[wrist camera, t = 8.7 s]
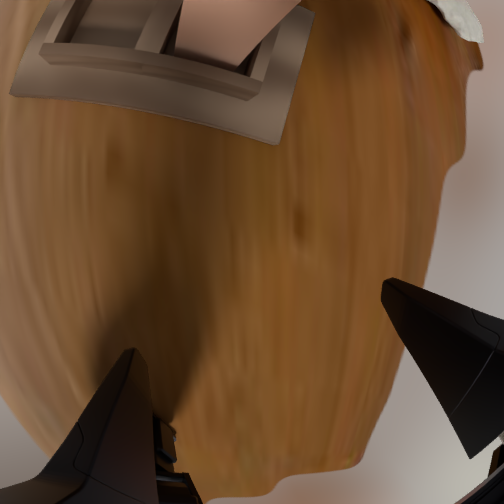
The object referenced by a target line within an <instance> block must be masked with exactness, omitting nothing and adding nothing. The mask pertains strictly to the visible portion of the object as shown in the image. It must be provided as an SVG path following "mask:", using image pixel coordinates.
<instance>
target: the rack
mask: <svg viewBox="0 0 504 504" xmlns="http://www.w3.org/2000/svg"><path fill="white" fill-rule="evenodd" d="M182 5H183V0H51V1H50V3H49V5H48V6H47V8H46V10H45V12H44V13H43V15H42V17H41V19H40V21H39V23H38V25H37V27H36V29H35V31H34V33H33V35H32V37H31V39H30V41H29V43H28V46H27V48H26V50H25V52H24V55H23V57H22V60H21V62H20V64H19V67H18V70H17V72H16V75H15V78H14V80H13V83H12V86H11V89H10V92H9V94H10V95H13V96H15V97H31V98H47V99H59V100H69V101H78V102H87V103H94V104H102V105H108V106H115V107H121V108H127V109H133V110H138V111H143V112H149V113H154V114H158V115H163V116H168V117H172V118H177V119H181V120H185V121H190V122H194V123H198V124H202V125H206V126H209V127H213V128H217V129H221V130H224V131H228V132H231V133H235V134H238V135H242V136H245V137H248V138H252V139H255V140H258V141H261V142H264V143H267V144H271V145H278V144H279V143H280V139H281V135H282V132H283V128H284V125H285V121H286V117H287V114H288V110H289V106H290V103H291V99H292V96H293V92H294V88H295V85H296V81H297V78H298V74H299V70H300V67H301V63H302V60H303V56H304V52H305V49H306V45H307V42H308V38H309V34H310V31H311V27H312V24H313V20H314V16H315V13H314V12H312V11H310V10H308V9H306V8H304V7H302V6H299V5H296V6H295V7H294V8H293V9H292V10H291V11H290V12H289V13H288V14H287V15H286V16H285V17H284V18H283V19H282V20H281V21H280V22H279V23H278V24H277V25H276V26H275V27H274V28H273V29H272V30H271V31H270V32H269V33H268V34H267V35H266V36H265V37H264V38H263V39H262V40H261V41H260V42H259V43H258V44H257V45H256V47H255V48H254V49H253V50H252V51H251V52H250V53H249V54H248V55H247V57H246V58H245V59H244V60H243V61H242V62H241V63H240V65H239V66H238V67H237V68H236V69H235V70H234V72H232V71H228V70H225V69H222V68H218V67H215V66H211V65H207V64H204V63H200V62H196V61H192V60H187V59H183V58H179V57H174V51H175V44H176V38H177V32H178V26H179V20H180V15H181V10H182Z"/></svg>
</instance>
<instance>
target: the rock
mask: <svg viewBox="0 0 504 504" xmlns="http://www.w3.org/2000/svg"><path fill="white" fill-rule="evenodd" d="M428 1H430V2H431V3H433V4H434V5H435V6H436V7H437V8H438V9H439V10H440V12H441V13H442V16H443V18H444V19H445V20H446V21H447V22H448V23H449V25H450V26H451V27H452V28H453V29H454V30H455V32H456V33H457V34H458V35H459V36H460V37H461V38H463V39H466V40H467V41H475V42H478V43H480V42H482V43H483V42H484V41H483V33H482V27H481V25H480V23H479V21H478V19H477V17H476V16H475V14H474V13H473V11H472V9H471V8H470V6H469V5H468V3H467V1H466V0H428Z"/></svg>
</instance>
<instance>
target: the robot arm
mask: <svg viewBox="0 0 504 504" xmlns="http://www.w3.org/2000/svg"><path fill="white" fill-rule="evenodd" d="M381 302H382V305H383V306H384V308H385V310H386V312H387V314H388V316H389V318H390V320H391V322H392V324H393V326H394V328H395V330H396V331H397V333H398V335H399V337H400V338H401V340H402V341H403V343H404V345H405V346H406V348H407V349H408V351H409V352H410V354H411V355H412V357H413V359H414V360H415V362H416V363H417V365H418V367H419V368H420V370H421V372H422V373H423V375H424V377H425V378H426V380H427V382H428V383H429V385H430V387H431V388H432V390H433V392H434V394H435V395H436V397H437V399H438V401H439V402H440V404H441V406H442V408H443V409H444V411H445V413H446V414H447V417H448V418H449V421H450V422H451V424H452V426H453V428H454V430H455V432H456V434H457V435H458V437H459V439H460V441H461V443H462V445H463V447H464V449H465V451H466V453H467V455H468V457H469V459H472V458H473V457H474V456H475V455H477V454H478V453H479V452H481V451H482V450H483V449H484V448H485V447H486V446H487V445H489V444H490V443H491V442H492V441H494V439H496V438H497V437H499V438H500V439H501V441H502V444H501V445H500V446H499V447H498V448H497V449H496V450H494V452H493V455H492V460H491V465H490V469H489V474H488V478H487V479H485V480H484V481H483V482H482V483H481V484H479V485H478V486H477V487H476V488H474V489H473V490H472V491H471V492H469V493H468V494H467V495H466V496H464V497H463V498H462V499H460V500H459V501H458V502H456V503H455V504H504V320H502V319H500V318H497V317H494V316H491V315H488V314H485V313H483V312H480V311H478V310H475V309H473V308H471V309H470V307H468V306H465V305H462V304H460V303H458V302H455V301H453V300H450V299H448V298H445V297H443V296H440V295H438V294H435V293H432V292H430V291H428V290H425V289H422V288H420V287H417V286H415V285H412V284H410V283H407V282H404V281H402V280H399V279H396V278H393V277H392V278H389V279H386V280H384V281H383V284H382V292H381ZM175 441H176V436H175V435H174V434H173V433H172V430H171V429H170V428H169V427H168V426H167V425H166V424H165V423H164V422H163V421H162V420H161V419H160V418H157V417H156V416H155V415H154V413H153V412H152V402H151V394H150V386H149V378H148V369H147V364H146V362H145V360H144V359H143V357H142V356H141V354H140V353H139V351H138V350H137V349H136V348H129V349H125V350H124V351H123V353H122V354H121V356H120V357H119V358H118V360H117V361H116V363H115V364H114V366H113V367H112V369H111V370H110V372H109V373H108V375H107V376H106V378H105V379H104V381H103V382H102V383H101V385H100V386H99V388H98V390H97V391H96V393H95V394H94V396H93V397H92V399H91V400H90V402H89V403H88V405H87V406H86V408H85V409H84V411H83V413H82V414H81V416H80V417H79V419H78V422H76V423H75V425H74V427H73V428H72V430H71V431H70V433H69V434H68V436H67V437H66V439H65V440H64V442H63V443H62V444H61V446H60V447H59V449H58V450H57V451H56V453H55V454H54V455H53V457H52V458H51V459H50V461H49V462H48V463H47V465H46V466H45V467H44V469H43V470H42V471H41V472H40V473H39V475H37V476H36V477H34V478H32V479H30V480H28V481H25V482H22V483H19V484H15V485H12V486H9V487H6V488H2V489H0V504H203V503H202V500H201V498H200V496H199V494H198V492H197V490H196V488H195V486H194V484H193V482H192V480H191V477H190V475H189V473H183V472H182V473H175V472H174V466H173V463H175V462H176V461H177V457H176V451H175V445H174V442H175Z"/></svg>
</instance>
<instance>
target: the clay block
mask: <svg viewBox="0 0 504 504" xmlns="http://www.w3.org/2000/svg"><path fill="white" fill-rule="evenodd" d="M300 1H301V0H183V5H182V10H181V15H180V20H179V26H178V32H177V38H176V44H175V51H174V57H179V58H183V59H187V60H192V61H196V62H200V63H204V64H207V65H211V66H215V67H218V68H222V69H225V70H228V71H232V72H234V70H235V69H236V68H237V67H238V66H239V65H240V63H241V62H242V61H243V60H244V59H245V58H246V57H247V55H248V54H249V53H250V52H251V51H252V50H253V49H254V48H255V47H256V45H257V44H258V43H259V42H260V41H261V40H262V39H263V38H264V37H265V36H266V35H267V34H268V33H269V32H270V31H271V30H272V29H273V28H274V27H275V26H276V25H277V24H278V23H279V22H280V21H281V20H282V19H283V18H284V17H285V16H286V15H287V14H288V13H289V12H290V11H291V10H292V9H293V8H294V7H295V6H296V5H297V4H298V3H299V2H300Z"/></svg>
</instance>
